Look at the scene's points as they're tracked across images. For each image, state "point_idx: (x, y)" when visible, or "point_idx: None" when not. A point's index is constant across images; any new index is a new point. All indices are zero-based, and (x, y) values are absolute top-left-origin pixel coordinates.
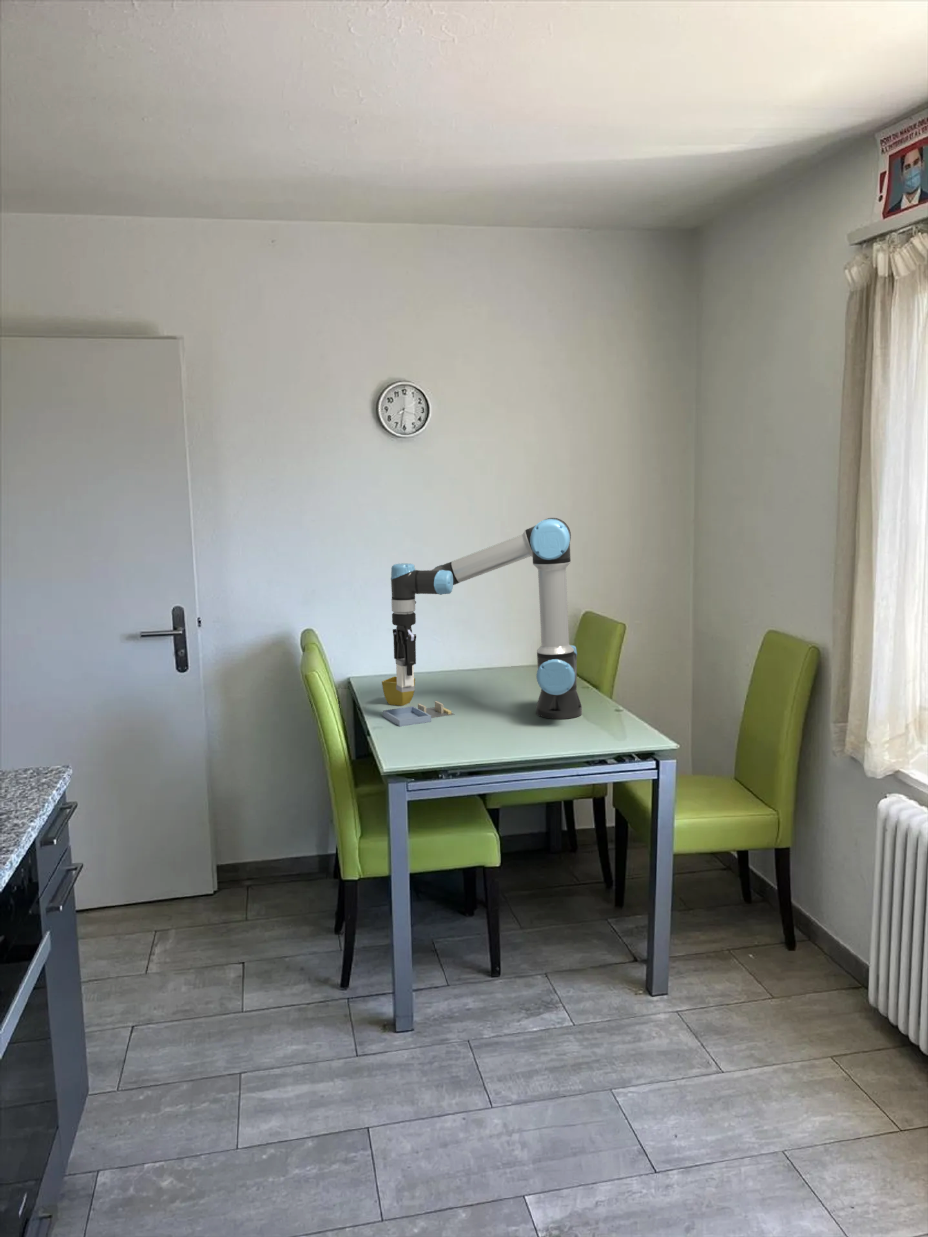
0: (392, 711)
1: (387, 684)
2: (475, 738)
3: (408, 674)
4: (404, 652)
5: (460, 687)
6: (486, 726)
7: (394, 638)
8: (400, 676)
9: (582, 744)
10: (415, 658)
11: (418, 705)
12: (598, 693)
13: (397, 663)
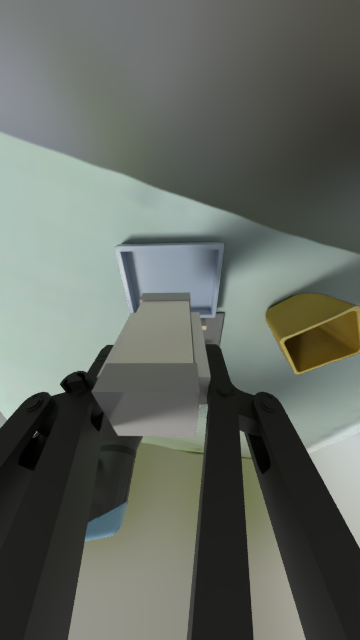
0: (215, 269)
1: (328, 312)
2: (29, 330)
3: (101, 350)
4: (42, 507)
5: (288, 400)
6: (93, 361)
7: None
8: (145, 324)
9: (4, 397)
10: (23, 459)
11: (202, 324)
12: (175, 448)
13: (166, 369)
